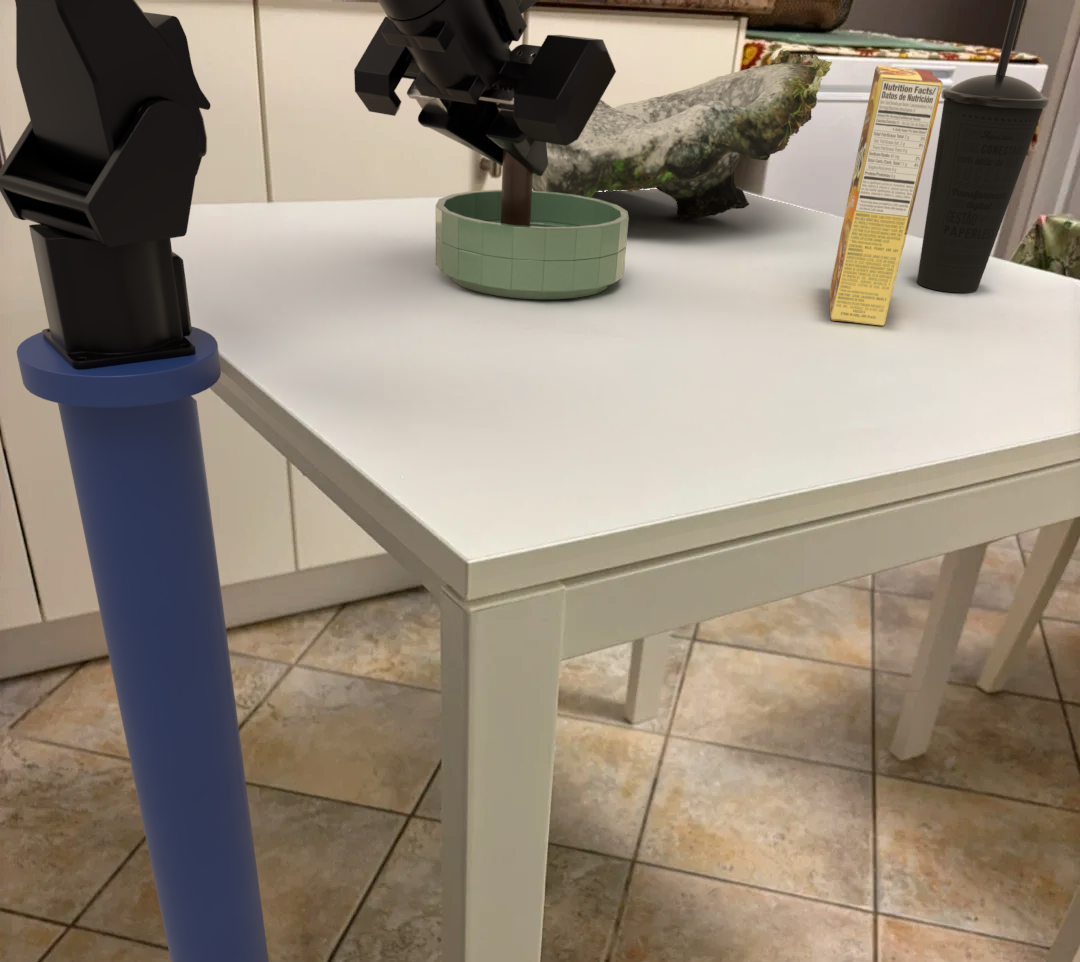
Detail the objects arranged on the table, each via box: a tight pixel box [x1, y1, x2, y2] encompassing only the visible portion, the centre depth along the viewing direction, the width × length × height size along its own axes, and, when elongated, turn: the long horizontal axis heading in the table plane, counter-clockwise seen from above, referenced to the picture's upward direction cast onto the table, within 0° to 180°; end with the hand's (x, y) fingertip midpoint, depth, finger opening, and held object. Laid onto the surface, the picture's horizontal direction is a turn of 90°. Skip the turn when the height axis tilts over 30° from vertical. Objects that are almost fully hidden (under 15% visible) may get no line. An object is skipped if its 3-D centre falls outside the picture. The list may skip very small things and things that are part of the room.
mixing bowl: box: [435, 189, 630, 301], centre depth 83 cm, size 14×14×5 cm
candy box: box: [829, 65, 944, 326], centre depth 78 cm, size 9×4×15 cm, turn 168°
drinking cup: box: [916, 0, 1050, 294], centre depth 84 cm, size 8×8×20 cm
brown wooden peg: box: [501, 150, 533, 226], centre depth 79 cm, size 4×4×13 cm
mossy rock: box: [532, 49, 833, 221], centre depth 104 cm, size 29×30×15 cm
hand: (529, 168), depth 80 cm, fingers closed on brown wooden peg, 2 cm apart
